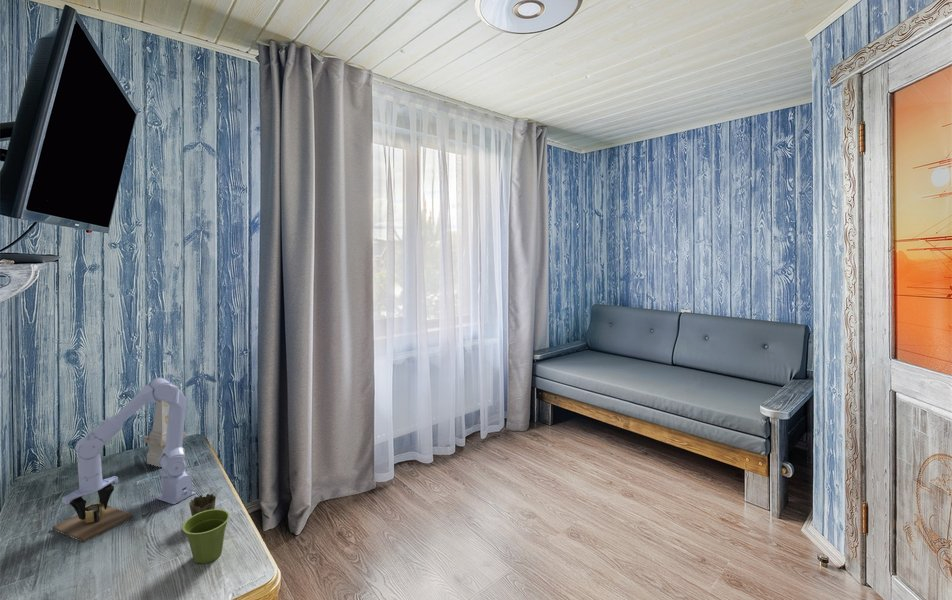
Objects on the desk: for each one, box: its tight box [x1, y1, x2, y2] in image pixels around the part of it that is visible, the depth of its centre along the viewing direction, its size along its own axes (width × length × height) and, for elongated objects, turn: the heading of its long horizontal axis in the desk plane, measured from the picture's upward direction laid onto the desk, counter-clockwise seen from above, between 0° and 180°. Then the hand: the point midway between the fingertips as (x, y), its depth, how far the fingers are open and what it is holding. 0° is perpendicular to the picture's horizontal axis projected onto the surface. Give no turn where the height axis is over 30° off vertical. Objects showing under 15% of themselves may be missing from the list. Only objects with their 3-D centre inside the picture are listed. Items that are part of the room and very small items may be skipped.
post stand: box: [51, 504, 134, 542], centre depth 143 cm, size 16×14×6 cm
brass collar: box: [81, 501, 105, 523], centre depth 143 cm, size 6×6×4 cm
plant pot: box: [181, 508, 230, 564], centre depth 129 cm, size 12×12×11 cm
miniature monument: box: [143, 399, 187, 468], centre depth 185 cm, size 10×10×30 cm
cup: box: [189, 493, 217, 517], centre depth 145 cm, size 8×7×8 cm
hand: (93, 513), depth 143 cm, fingers closed on brass collar, 5 cm apart
